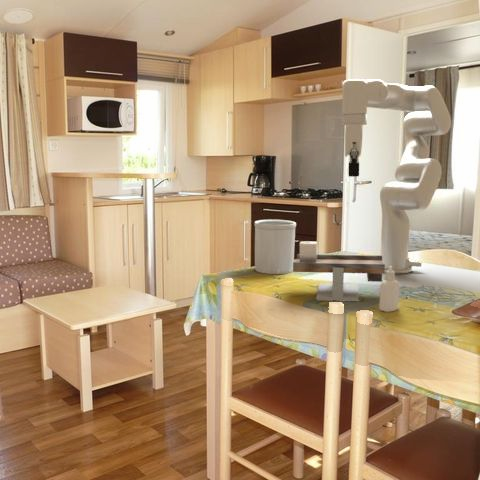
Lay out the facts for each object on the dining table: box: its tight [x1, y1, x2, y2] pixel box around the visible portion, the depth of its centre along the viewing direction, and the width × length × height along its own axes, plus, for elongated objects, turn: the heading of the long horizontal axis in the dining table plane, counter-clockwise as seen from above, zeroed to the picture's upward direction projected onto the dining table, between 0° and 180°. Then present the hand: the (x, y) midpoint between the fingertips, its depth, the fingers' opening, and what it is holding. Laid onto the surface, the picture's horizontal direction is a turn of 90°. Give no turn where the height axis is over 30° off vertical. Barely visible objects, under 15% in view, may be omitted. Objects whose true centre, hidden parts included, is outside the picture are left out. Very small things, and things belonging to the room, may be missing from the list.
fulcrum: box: [315, 267, 360, 302], centre depth 175 cm, size 12×17×10 cm
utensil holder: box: [254, 219, 297, 275], centre depth 208 cm, size 15×15×18 cm
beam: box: [292, 253, 386, 283], centre depth 175 cm, size 26×14×6 cm, turn 79°
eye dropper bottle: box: [378, 266, 400, 313], centre depth 158 cm, size 4×6×12 cm
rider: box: [299, 240, 318, 263], centre depth 176 cm, size 5×5×6 cm
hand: (353, 175), depth 186 cm, fingers open, 9 cm apart
